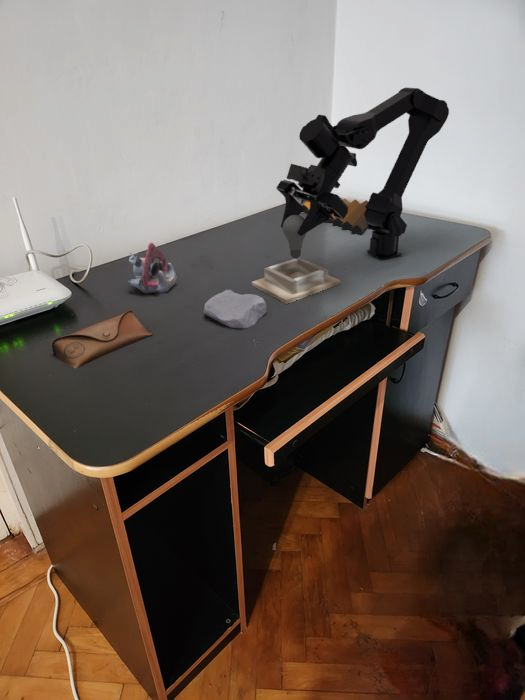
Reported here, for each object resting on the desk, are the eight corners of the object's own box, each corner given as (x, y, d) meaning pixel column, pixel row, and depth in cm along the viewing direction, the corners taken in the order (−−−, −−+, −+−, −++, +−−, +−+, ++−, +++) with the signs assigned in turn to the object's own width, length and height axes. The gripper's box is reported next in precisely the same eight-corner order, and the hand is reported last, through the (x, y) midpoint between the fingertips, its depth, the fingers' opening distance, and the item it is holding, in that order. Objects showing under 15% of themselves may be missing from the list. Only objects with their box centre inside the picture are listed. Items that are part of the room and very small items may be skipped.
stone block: (246, 339, 108) (270, 310, 114) (242, 320, 105) (267, 292, 111) (200, 328, 114) (225, 301, 120) (194, 310, 111) (220, 283, 117)
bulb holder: (304, 268, 133) (304, 252, 131) (340, 284, 124) (340, 268, 122) (252, 285, 125) (251, 269, 123) (286, 304, 116) (286, 287, 114)
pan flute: (362, 236, 153) (381, 211, 172) (362, 225, 151) (382, 201, 170) (281, 228, 162) (308, 205, 181) (281, 217, 160) (308, 195, 179)
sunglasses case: (74, 370, 97) (58, 336, 96) (63, 374, 102) (47, 342, 101) (156, 333, 107) (142, 303, 106) (142, 339, 113) (128, 310, 112)
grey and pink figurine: (171, 290, 119) (135, 247, 116) (141, 312, 125) (106, 272, 122) (191, 270, 129) (158, 230, 125) (162, 292, 134) (130, 254, 131)
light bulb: (302, 252, 125) (302, 210, 119) (311, 260, 120) (311, 217, 115) (280, 256, 123) (278, 213, 118) (288, 264, 119) (287, 220, 113)
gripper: (281, 142, 118) (243, 202, 118) (339, 154, 105) (296, 222, 105) (309, 172, 126) (273, 228, 126) (366, 187, 113) (326, 249, 113)
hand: (290, 231), depth 117 cm, fingers closed on light bulb, 5 cm apart
